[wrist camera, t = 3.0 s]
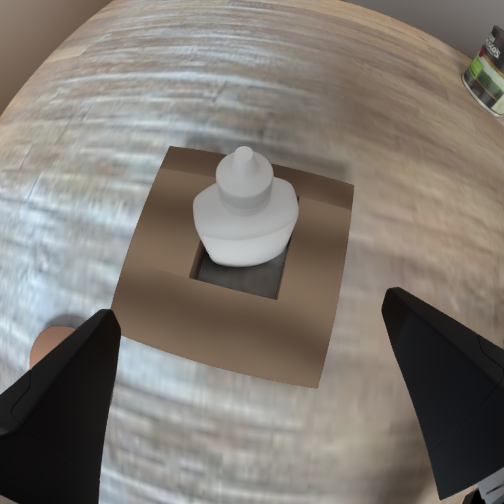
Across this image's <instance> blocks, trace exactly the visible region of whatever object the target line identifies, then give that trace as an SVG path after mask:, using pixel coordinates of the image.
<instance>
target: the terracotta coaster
mask: <svg viewBox="0 0 504 504" xmlns="http://www.w3.org/2000/svg"><path fill="white" fill-rule="evenodd" d="M75 330H76V329H75V328H72V327H66V326H53V327H50V328H47V329H45V330H44V331H43V332H41V333H40V334H39V336H38V337H37V338H36V340H35V342H34V344H33V346H32V350H31V354H30V369H31V368H32V367H33V366H34V365H35V364H36V363H38V362H39V361H40V360H41V359H42V358H43V357H44V356H45V355H47V354H48V353H49V352H50V351H51V350H52V349H54V348H55V347H56V346H57V345H58V344H59V343H60V342H62V341H63V340H64V339H65V338H66V337H68V336H69V335H70V334H71V333H72V332H73V331H75ZM111 400H112V397H111ZM110 404H111V402H110Z"/></svg>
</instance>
